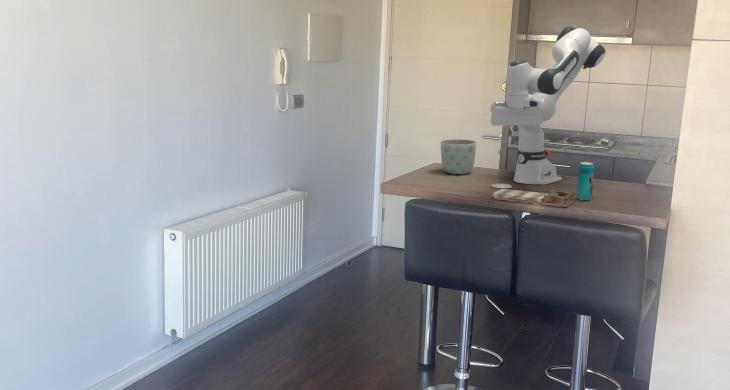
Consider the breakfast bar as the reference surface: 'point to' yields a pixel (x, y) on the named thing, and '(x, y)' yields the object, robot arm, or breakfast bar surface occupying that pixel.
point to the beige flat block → (519, 195)
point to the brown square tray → (558, 198)
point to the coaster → (501, 186)
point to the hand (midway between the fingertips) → (515, 136)
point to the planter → (458, 155)
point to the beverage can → (585, 180)
